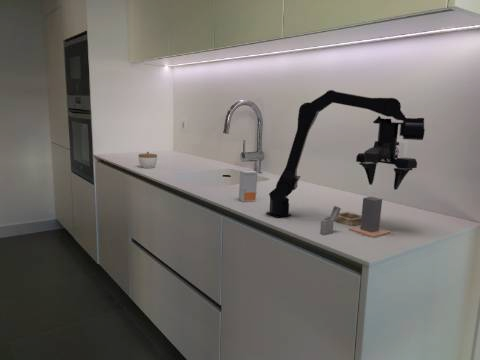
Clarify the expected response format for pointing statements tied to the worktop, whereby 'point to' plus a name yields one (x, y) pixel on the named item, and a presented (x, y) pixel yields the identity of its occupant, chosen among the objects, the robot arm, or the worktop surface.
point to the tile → (370, 234)
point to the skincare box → (248, 186)
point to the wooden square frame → (349, 218)
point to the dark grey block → (371, 214)
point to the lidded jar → (147, 160)
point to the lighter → (329, 221)
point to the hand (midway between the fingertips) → (382, 187)
